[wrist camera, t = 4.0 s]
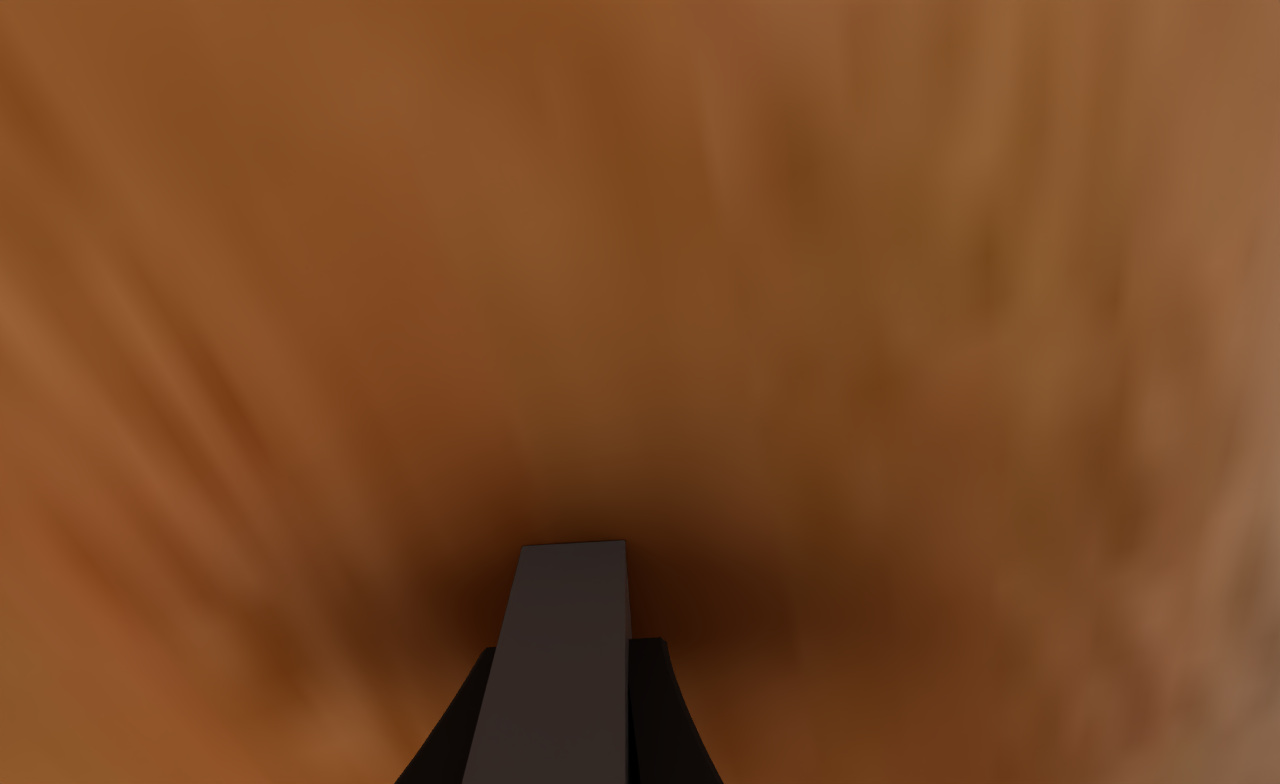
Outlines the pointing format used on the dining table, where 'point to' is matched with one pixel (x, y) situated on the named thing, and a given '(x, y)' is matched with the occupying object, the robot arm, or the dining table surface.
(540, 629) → the scraper
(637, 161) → the dining table surface
